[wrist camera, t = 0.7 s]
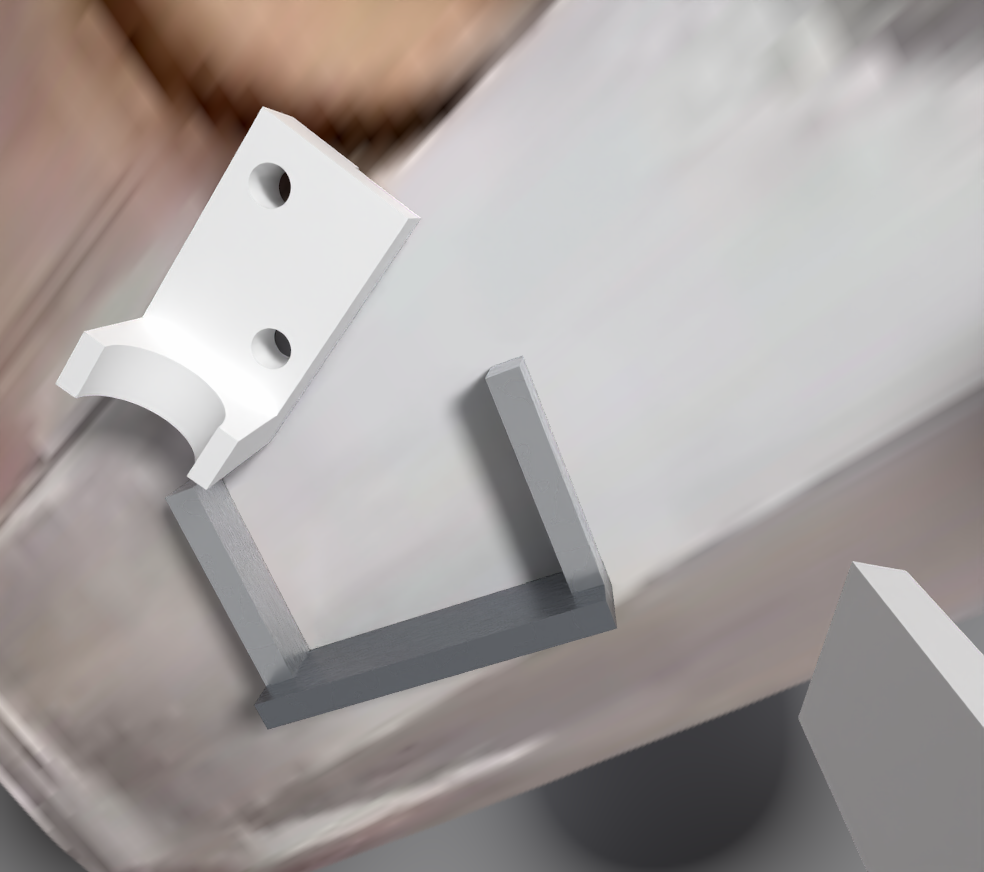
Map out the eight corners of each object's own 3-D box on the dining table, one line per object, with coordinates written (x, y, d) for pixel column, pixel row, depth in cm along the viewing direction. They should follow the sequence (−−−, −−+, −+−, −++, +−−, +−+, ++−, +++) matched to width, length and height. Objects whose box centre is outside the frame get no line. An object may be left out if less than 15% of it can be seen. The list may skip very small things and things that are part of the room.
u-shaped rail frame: (190, 480, 38) (147, 510, 34) (522, 355, 34) (517, 373, 30) (295, 680, 40) (267, 729, 37) (611, 585, 37) (616, 628, 33)
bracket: (277, 436, 37) (206, 490, 30) (158, 349, 36) (55, 384, 29) (425, 218, 33) (384, 219, 26) (294, 117, 32) (215, 90, 25)
